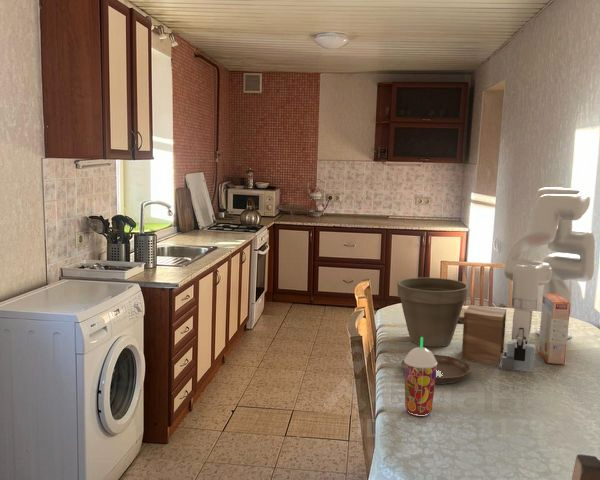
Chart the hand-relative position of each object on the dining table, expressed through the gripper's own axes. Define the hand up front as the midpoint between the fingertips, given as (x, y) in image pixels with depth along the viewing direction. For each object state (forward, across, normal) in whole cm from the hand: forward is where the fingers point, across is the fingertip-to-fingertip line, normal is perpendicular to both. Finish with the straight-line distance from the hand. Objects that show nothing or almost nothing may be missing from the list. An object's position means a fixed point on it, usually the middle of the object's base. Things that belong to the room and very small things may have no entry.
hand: (520, 355), depth 179 cm
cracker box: (+4, -16, +9) cm, 19 cm away
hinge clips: (+4, 0, -3) cm, 5 cm away
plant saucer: (+4, +18, -23) cm, 30 cm away
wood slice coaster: (+5, -54, -27) cm, 60 cm away
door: (+4, 0, 0) cm, 4 cm away
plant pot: (+4, -15, -32) cm, 36 cm away
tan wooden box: (+4, -6, -12) cm, 14 cm away
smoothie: (+4, +48, -21) cm, 53 cm away
